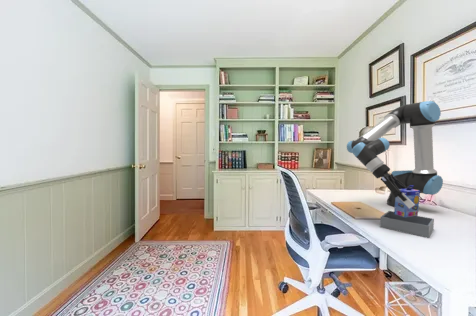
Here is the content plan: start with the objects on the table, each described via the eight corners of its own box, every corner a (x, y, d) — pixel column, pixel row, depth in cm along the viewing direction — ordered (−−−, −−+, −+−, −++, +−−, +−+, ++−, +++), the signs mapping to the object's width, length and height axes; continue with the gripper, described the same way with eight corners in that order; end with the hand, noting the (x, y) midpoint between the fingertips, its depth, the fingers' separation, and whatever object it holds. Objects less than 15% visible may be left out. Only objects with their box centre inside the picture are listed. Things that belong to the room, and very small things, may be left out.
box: (388, 220, 121) (389, 210, 121) (433, 229, 108) (433, 218, 108) (380, 227, 111) (380, 216, 110) (428, 238, 98) (429, 226, 97)
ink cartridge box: (405, 218, 104) (407, 186, 104) (393, 214, 110) (395, 184, 109) (419, 215, 108) (421, 185, 108) (406, 212, 113) (408, 183, 113)
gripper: (378, 171, 127) (412, 205, 117) (364, 174, 111) (401, 213, 101) (390, 162, 123) (426, 196, 113) (377, 164, 107) (417, 204, 97)
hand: (414, 204), depth 107 cm, fingers closed on ink cartridge box, 11 cm apart
